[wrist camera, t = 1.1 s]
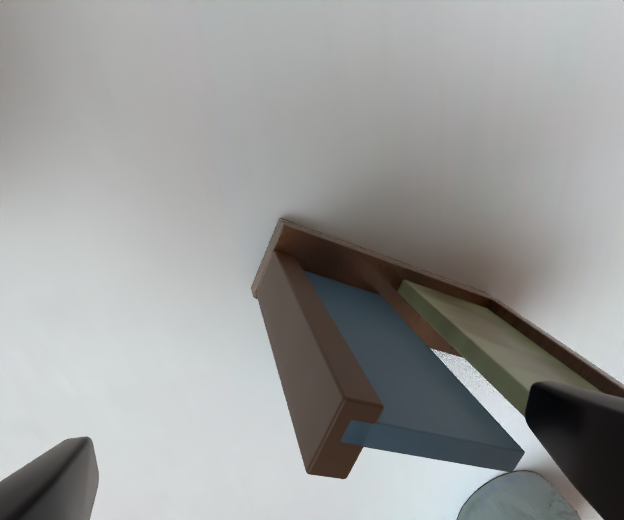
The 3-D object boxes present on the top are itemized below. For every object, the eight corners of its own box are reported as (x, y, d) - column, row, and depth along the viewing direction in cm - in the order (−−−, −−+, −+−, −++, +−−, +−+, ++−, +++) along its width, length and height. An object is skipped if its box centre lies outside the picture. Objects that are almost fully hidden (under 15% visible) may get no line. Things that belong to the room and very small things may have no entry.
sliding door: (255, 293, 21) (305, 475, 11) (273, 249, 20) (344, 397, 10) (366, 325, 23) (494, 501, 13) (385, 286, 22) (534, 438, 12)
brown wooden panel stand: (250, 288, 22) (309, 516, 10) (279, 217, 21) (382, 374, 9) (458, 349, 27) (668, 552, 15) (489, 294, 26) (740, 463, 14)
